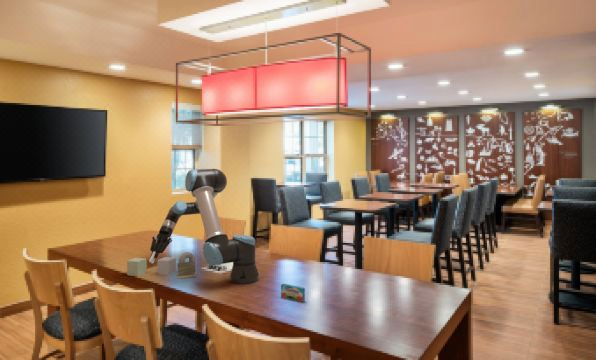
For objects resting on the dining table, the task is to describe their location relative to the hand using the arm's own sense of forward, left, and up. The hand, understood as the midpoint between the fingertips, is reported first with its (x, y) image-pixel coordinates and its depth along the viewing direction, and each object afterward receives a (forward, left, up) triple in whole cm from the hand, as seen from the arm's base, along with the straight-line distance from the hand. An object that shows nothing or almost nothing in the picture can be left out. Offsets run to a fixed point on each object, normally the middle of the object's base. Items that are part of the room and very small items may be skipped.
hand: (150, 262), depth 237 cm
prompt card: (-30, -7, -3) cm, 31 cm away
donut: (-17, -14, -3) cm, 22 cm away
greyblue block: (-16, -2, -3) cm, 17 cm away
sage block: (-6, +10, -3) cm, 13 cm away
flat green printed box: (-94, -26, -4) cm, 98 cm away
